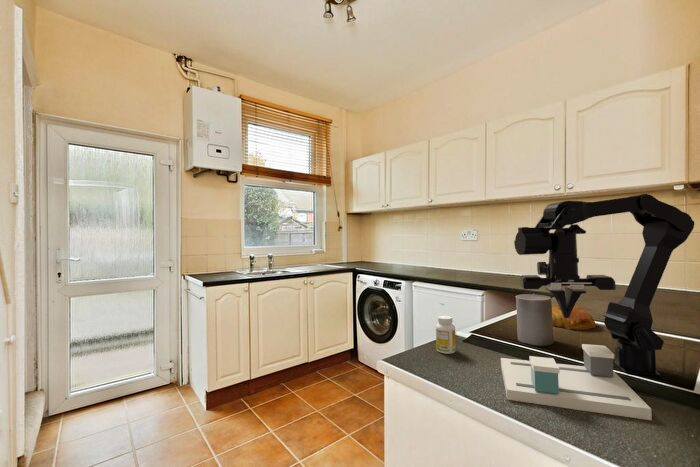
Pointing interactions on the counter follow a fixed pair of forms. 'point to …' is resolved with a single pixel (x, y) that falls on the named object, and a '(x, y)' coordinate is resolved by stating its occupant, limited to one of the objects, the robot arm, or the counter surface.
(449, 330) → the supplement bottle
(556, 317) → the croissant
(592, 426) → the counter surface
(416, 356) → the counter surface
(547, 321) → the pillar candle
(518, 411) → the counter surface
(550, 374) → the teal knob
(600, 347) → the grey and white slider
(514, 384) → the slotted slider plate
